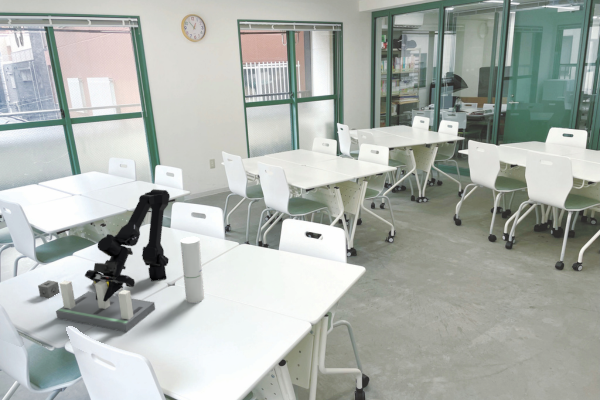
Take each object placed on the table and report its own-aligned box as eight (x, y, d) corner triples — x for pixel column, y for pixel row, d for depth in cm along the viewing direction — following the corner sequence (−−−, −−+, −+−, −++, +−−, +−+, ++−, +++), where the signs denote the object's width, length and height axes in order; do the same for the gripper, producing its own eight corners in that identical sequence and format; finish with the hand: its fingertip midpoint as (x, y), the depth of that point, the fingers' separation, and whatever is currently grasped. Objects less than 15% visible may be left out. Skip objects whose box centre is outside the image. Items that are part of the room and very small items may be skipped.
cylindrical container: (207, 295, 176) (203, 237, 169) (198, 304, 169) (193, 244, 163) (192, 293, 178) (187, 235, 171) (182, 301, 172) (176, 242, 165)
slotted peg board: (89, 297, 175) (84, 268, 172) (155, 309, 166) (151, 278, 163) (57, 318, 161) (51, 286, 157) (127, 332, 152) (122, 298, 148)
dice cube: (40, 296, 177) (38, 285, 176) (50, 291, 182) (48, 280, 180) (49, 298, 175) (47, 287, 174) (59, 293, 180) (57, 282, 179)
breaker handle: (103, 304, 164) (100, 281, 161) (110, 305, 163) (106, 282, 160) (98, 307, 161) (95, 284, 159) (105, 309, 160) (101, 285, 158)
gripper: (84, 250, 163) (65, 290, 156) (125, 255, 157) (108, 297, 150) (102, 261, 172) (85, 299, 165) (142, 266, 167) (126, 306, 160)
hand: (100, 300), depth 160 cm, fingers closed on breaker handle, 3 cm apart
